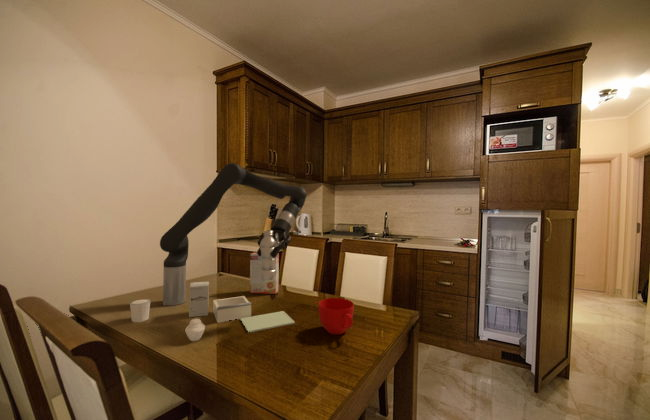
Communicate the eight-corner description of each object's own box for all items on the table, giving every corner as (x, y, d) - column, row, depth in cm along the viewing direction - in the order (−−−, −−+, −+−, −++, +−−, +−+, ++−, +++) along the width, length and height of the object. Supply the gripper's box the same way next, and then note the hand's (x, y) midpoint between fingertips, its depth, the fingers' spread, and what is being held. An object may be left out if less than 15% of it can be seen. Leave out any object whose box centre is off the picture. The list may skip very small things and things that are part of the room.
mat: (248, 332, 99) (248, 331, 99) (240, 319, 111) (240, 318, 111) (294, 323, 108) (294, 321, 108) (283, 312, 119) (283, 310, 119)
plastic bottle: (279, 279, 112) (279, 230, 111) (271, 284, 105) (271, 231, 105) (265, 278, 114) (265, 229, 113) (256, 282, 107) (256, 230, 107)
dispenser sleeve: (217, 322, 107) (217, 307, 107) (213, 311, 119) (213, 297, 119) (251, 317, 114) (251, 302, 114) (244, 307, 125) (244, 293, 125)
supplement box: (188, 318, 112) (188, 286, 112) (190, 311, 119) (190, 282, 119) (208, 315, 114) (208, 285, 114) (208, 309, 121) (209, 280, 121)
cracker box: (278, 291, 150) (279, 252, 150) (275, 294, 144) (276, 254, 144) (253, 290, 151) (254, 251, 151) (249, 293, 145) (250, 253, 145)
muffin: (206, 334, 98) (207, 314, 98) (203, 342, 92) (203, 321, 92) (187, 335, 96) (188, 315, 96) (182, 344, 90) (182, 322, 90)
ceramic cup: (334, 347, 90) (334, 316, 90) (312, 327, 105) (312, 300, 105) (367, 338, 96) (367, 310, 96) (341, 321, 111) (342, 296, 111)
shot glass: (154, 317, 112) (154, 300, 112) (136, 324, 105) (136, 305, 105) (143, 314, 115) (143, 297, 114) (125, 320, 108) (125, 302, 108)
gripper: (265, 217, 119) (246, 248, 108) (294, 218, 113) (276, 251, 102) (273, 229, 124) (255, 259, 113) (301, 230, 117) (284, 263, 107)
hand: (265, 255), depth 108 cm, fingers closed on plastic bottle, 6 cm apart
